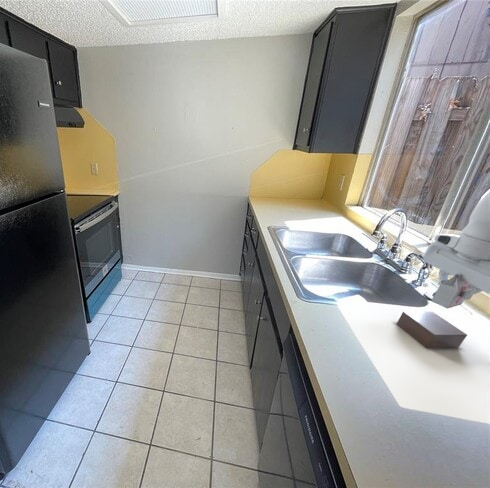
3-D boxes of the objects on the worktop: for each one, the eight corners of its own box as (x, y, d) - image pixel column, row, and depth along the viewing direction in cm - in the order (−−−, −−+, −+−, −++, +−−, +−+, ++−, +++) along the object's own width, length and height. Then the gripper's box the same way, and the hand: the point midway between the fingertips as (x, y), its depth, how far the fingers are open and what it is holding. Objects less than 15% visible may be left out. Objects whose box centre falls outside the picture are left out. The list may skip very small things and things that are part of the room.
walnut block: (425, 323, 84) (432, 311, 82) (458, 347, 75) (467, 334, 73) (396, 323, 83) (403, 311, 81) (426, 347, 74) (434, 334, 72)
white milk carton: (431, 300, 74) (448, 271, 70) (444, 296, 77) (462, 267, 72) (447, 308, 71) (466, 277, 67) (461, 304, 73) (480, 274, 69)
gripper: (546, 267, 57) (509, 316, 63) (450, 233, 76) (428, 273, 82) (520, 267, 57) (485, 316, 63) (430, 232, 76) (409, 272, 81)
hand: (452, 291), depth 72 cm, fingers closed on white milk carton, 4 cm apart
